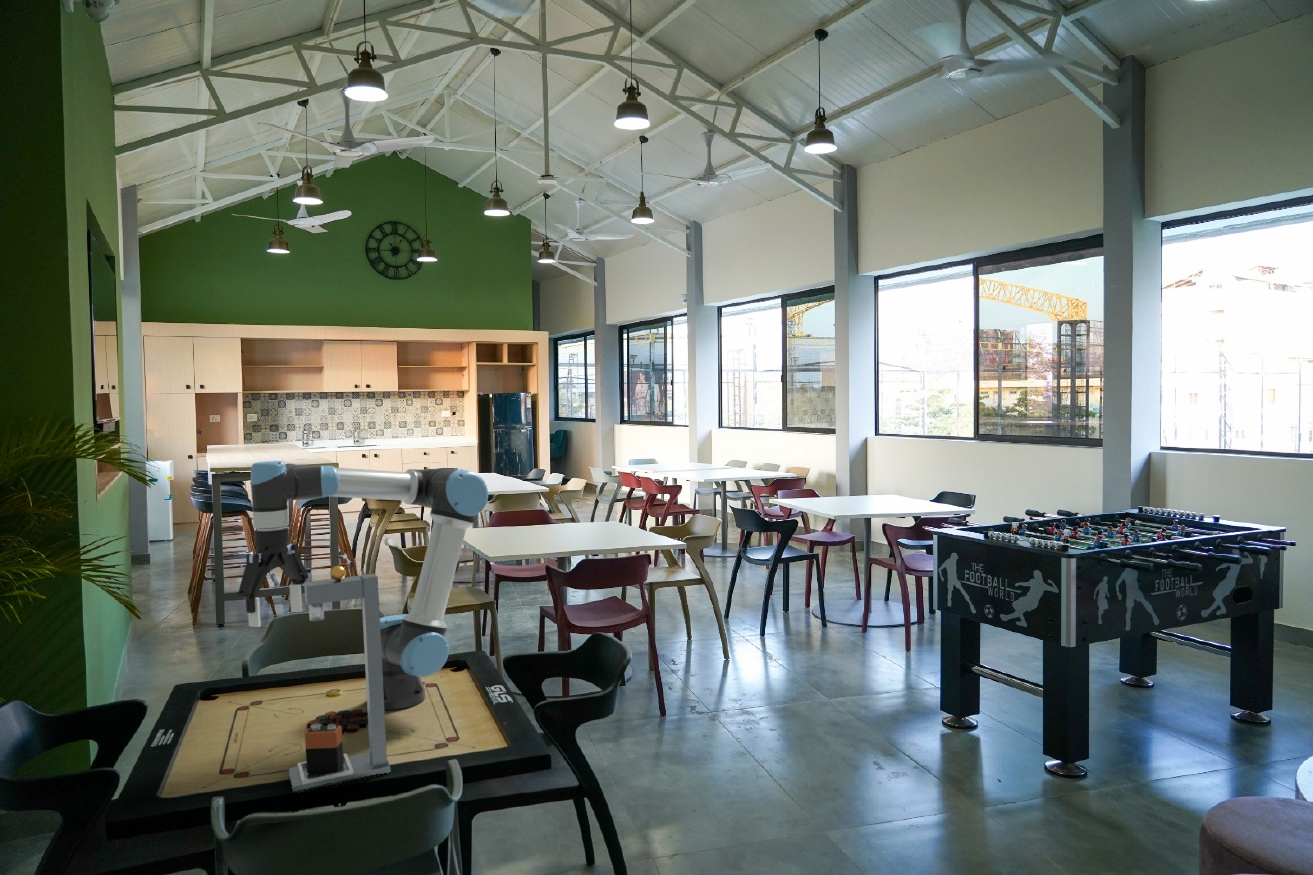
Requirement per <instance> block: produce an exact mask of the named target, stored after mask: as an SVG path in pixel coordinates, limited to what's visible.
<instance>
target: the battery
mask: <svg viewBox="0 0 1313 875" xmlns="http://www.w3.org/2000/svg"><path fill="white" fill-rule="evenodd" d="M304 743H305V760H306V761H305V762H306V764H307V773H308V774H314V773H336V772H338V771H339V770H340V768H341V767H342V766H343V764H344V761H343V754H344V746H343V745H344V744H343V727H342V726H341V725H340V724H339V725H336V724H334V723H331V724H328V725H322V724H321V723H313V724H311V725H310V727H309V729H308V730H307V731H306V732H305V733H304Z"/></svg>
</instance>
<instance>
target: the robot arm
mask: <svg viewBox="0 0 1313 875" xmlns="http://www.w3.org/2000/svg"><path fill="white" fill-rule="evenodd" d="M250 489H251V490H250V492H251V501H252V503H251V504H252V520H253V521H252V522H253V528H254V529H256V530H254V531H253V539H254V542H253V543H254V546H255V547H256V548H257V552H256V553H247V555H246V564H245V567H244V570H243V575H242V578H241V582H240V585H239V588H238V589H239V590H238V593H237V597H238V598H241V599H245V606H246V607H245V608H246V613H247V617H248V619H247V620H248V626H249V627H254V628H259V627H261V626H262V620H261V619H262V618H261V605H260V597H257V596H258V594H259V591H260V590H261V587H262V586H263V583H264V581H265V579H266V578H267V575H268V573H270V572H271V570H275V569H277V568H279V569H280V570H281V571H282V572H283V574H285V576H286V577H287V578H288V579H289V581H290V582H291V583H290V584H289V598H290V600H289V601H290V612H291V613H292V612H294V613H295V612H296V613H301V612H303V601H302V600H303V585H304V582H307V580H308V579H309V574H308V572H307V570H306V568H305V565H304V562H303V560H302V558H301V556H300V554H299V550H298V544H296V543H290V529H289V528H288V526H289V525H290V523H289V522H290V521H289V520H290V519H289V509H288V508H289V506H288V503H289V502H288V501H296V500H307V499H319V498H322V499H325V498H326V497H336V498H354V499H370V500H372V499H373V500H390V501H392V500H393V501H403V503H404V504H405V505H413V506H421V507H425V508H429V509H430V513H429V516H430V517H431V519H432V521H433V524H432V528H431V532H430V536H429V540H428V544H427V547H426V552H425V555H424V558H423V563H422V567H421V571H420V575H419V578H418V582H417V586H416V590H415V594H414V597H413V601H412V605H411V608H410V609H411V610H410V611H409V613H406V614H405V613H404V614H403V613H402V614H395V615H390V616H389V615H387V616H383V617H380V633H381V653H382V673H383V693H384V711H394V710H400V709H407V708H411V707H414V706H416V705H418V704H421V703H422V702H423V701H425V699H426V688H425V685H424V683H423V681H422V678H426V677H431V676H433V675H435V674H436V673H438V672H439V671H440V670H441V669H442V668H443V667H444V665H445V664H446V662H447V661H448V657H449V654H450V648H449V647H450V646H449V643H448V641H447V640H446V638H445V637H446V635H447V634H446V633H447V628H448V625H447V623H446V622H445V620H444V617H445V613H446V610H447V605H448V601H449V597H450V594H451V590H452V587H453V586H452V585H453V583H454V578H455V574H456V570H457V566H458V563H459V558H460V554H461V550H462V546H463V543H464V539H465V534H466V531H467V529H468V528H470V527H472V526H473V525H474V523H475V519H476V515H478V514H480V513H481V512H482V511H483V510H484V509H485V507H486V505H487V503H488V499H489V490H488V485H487V484H486V481H485V479H483V477H482V476H480V474H478V473H476V472H473V471H471V470H468V469H462V468H461V469H459V468H456V469H455V468H444V467H442V468H441V467H439V468H429V469H426V468H425V469H414V468H413V469H412V468H410V469H407V470H405V472H404V471H403V472H402V471H389V470H377V469H362V468H350V467H349V468H347V467H337V466H336V467H335V466H333V465H309V464H308V465H306V464H296V463H285V461H281V460H272V461H269V460H267V461H258V462H254V463H253V464H252V465H251V467H250Z"/></svg>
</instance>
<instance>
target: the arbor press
mask: <svg viewBox="0 0 1313 875" xmlns="http://www.w3.org/2000/svg"><path fill="white" fill-rule="evenodd" d="M346 572H347V571H346V569H345V568H344V567H343V566H341V565H335V566H333V567H332V568H331V569H330V573H329V575H330V579H329V578H327V579H320V580H319V579H318V580H313V581H312V580H311V581H306V582H304V584H303V585H304V587H303V588H304V599H305V600H304V601H305V602H306V605H307V606H308V613H309V615H308V616H309V617H308V618H309V621H310V622H319V621H322V620H324V619H325V608H324V604H325V603H326V604H327V603H334V602H335V603H336V602H342V601H343V602H344V601H349V600H356V599H361V607H362V608H361V609H362V628H363V629H362V630H363V646H364V647H363V649H364V665H365V666H364V668H365V688H366V689H365V690H366V706H367V707H366V708H367V710H366V711H367V728H368V729H367V730H368V745H369V746H368V747H369V748H368V749H369V750H368V751H369V752H364V753H360V754H354V755H349V756H348V754H347V753H343V761H344V764H343V766H342V767H341V768H340V770H339V771H338V772H336V773H314V774H308V773H307V764H306V761H302V762H297V766H293V767H290V768H288V777H289V780H290V784H291V785H292V786H291V785H290V786H291V789H293V790H292V792H293V791H298V790H303V789H308V788H311V787H315V786H319V785H323V784H327V783H335V782H339V781H342V780H346V779H351V778H359V777H364V776H370V775H376V774H383V775H385V774H384V773H387V774H390V773H389V772H391V771H392V770H391V765H390V762H389V761H388V759H387V758H388V757H387V739H386V738H387V737H386V736H387V735H386V718H385V717H386V716H385V710H384V693H383V673H382V653H381V633H380V618H381V617H380V616H381V615H380V601H379V600H380V598H379V597H380V595H379V580H378V579H379V578H378V577H379V576H378V575H377V574H376V573H367V574H360V575H355V576H354V575H353V576H347V577H346V574H347V573H346Z"/></svg>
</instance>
